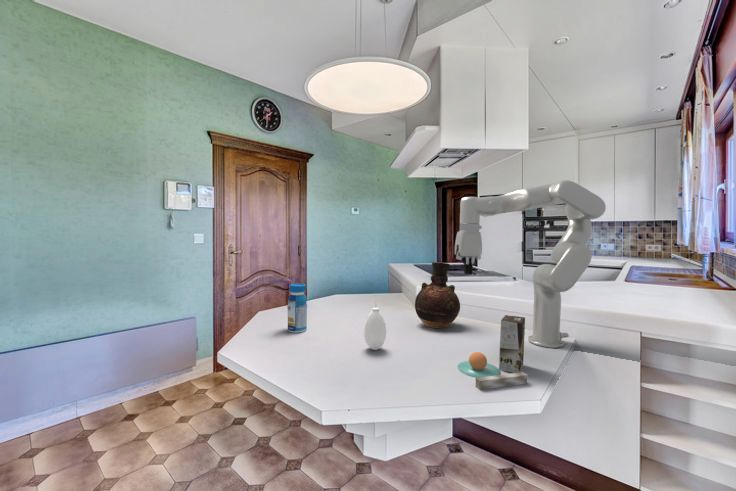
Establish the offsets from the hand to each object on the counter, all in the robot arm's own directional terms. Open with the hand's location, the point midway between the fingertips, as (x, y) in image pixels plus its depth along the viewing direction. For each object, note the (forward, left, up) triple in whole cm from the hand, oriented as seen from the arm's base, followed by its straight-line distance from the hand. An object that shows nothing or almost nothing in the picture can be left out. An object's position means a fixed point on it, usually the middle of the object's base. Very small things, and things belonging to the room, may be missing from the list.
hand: (468, 273), depth 133 cm
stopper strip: (+12, +37, -27) cm, 47 cm away
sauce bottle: (+39, +1, -27) cm, 48 cm away
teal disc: (+12, +26, -27) cm, 39 cm away
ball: (+12, +26, -24) cm, 38 cm away
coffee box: (0, +27, -27) cm, 38 cm away
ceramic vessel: (+2, -21, -27) cm, 35 cm away
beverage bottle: (+65, -29, -27) cm, 76 cm away
